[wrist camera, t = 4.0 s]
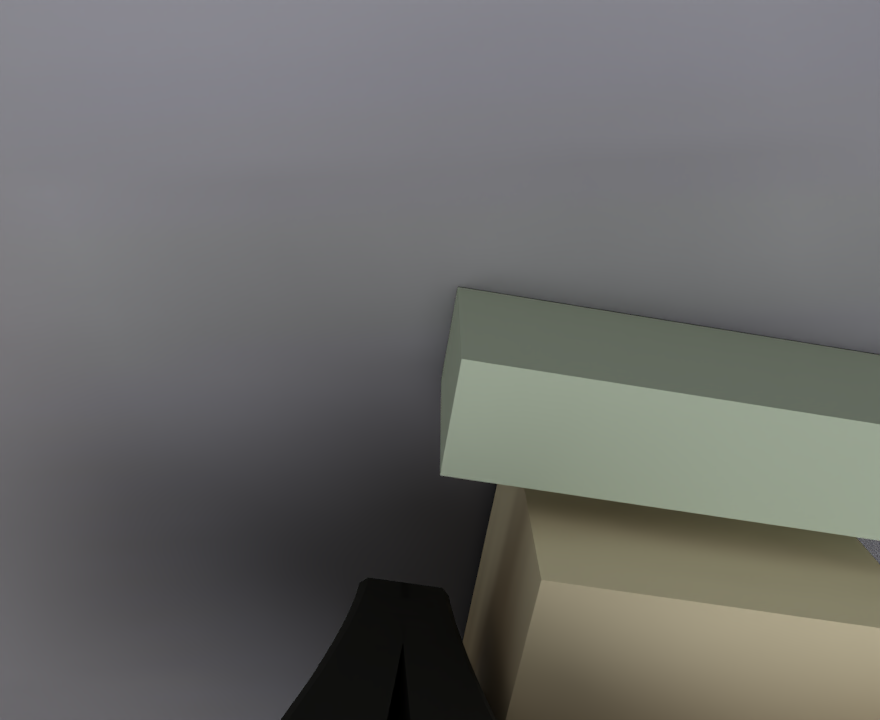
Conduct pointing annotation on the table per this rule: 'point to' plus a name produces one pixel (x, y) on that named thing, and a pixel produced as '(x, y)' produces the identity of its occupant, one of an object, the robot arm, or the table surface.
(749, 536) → the birch block
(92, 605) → the table surface
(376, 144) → the table surface
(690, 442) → the rails
